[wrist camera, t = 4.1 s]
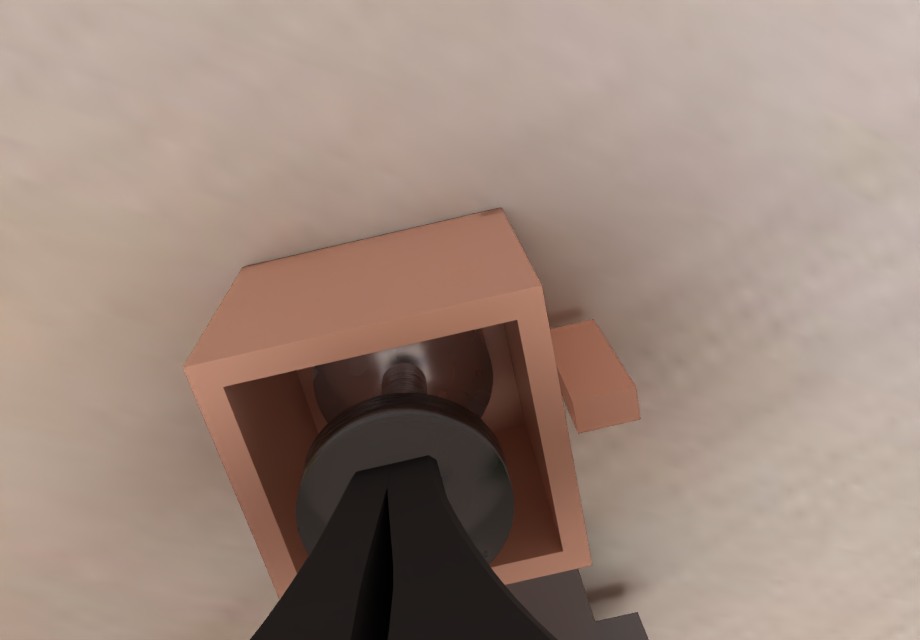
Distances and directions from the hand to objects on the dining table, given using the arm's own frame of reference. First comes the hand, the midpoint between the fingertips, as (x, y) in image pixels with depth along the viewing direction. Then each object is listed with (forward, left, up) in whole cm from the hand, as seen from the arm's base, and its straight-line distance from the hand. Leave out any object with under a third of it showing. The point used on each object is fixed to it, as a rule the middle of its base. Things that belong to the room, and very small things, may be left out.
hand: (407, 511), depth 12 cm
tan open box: (0, 0, -6) cm, 6 cm away
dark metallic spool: (0, 0, -5) cm, 5 cm away
